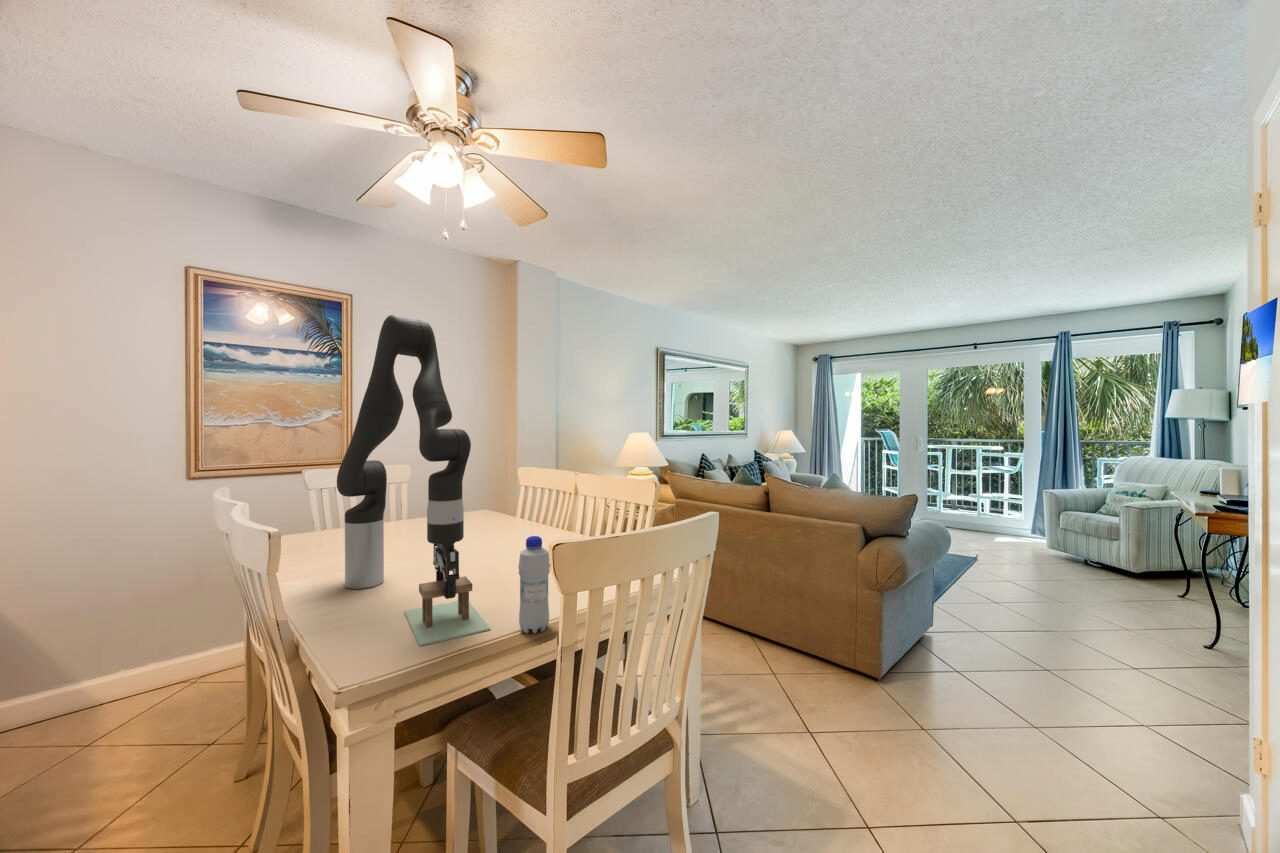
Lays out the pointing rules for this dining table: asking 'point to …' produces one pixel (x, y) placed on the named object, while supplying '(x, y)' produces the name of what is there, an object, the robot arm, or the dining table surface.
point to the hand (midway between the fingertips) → (445, 592)
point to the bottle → (534, 586)
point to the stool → (437, 590)
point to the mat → (445, 623)
